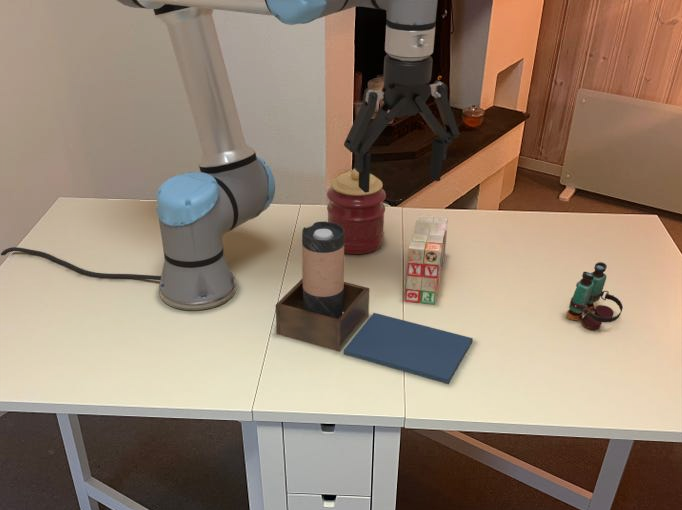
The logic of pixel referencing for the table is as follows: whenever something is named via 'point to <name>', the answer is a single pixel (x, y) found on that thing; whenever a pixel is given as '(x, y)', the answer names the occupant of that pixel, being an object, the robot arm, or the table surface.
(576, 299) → the binoculars
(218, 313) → the table surface
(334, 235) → the travel mug
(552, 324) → the table surface
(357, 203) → the kitchen canister
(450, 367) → the mat
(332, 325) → the cube shelf
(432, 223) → the stack of blocks
